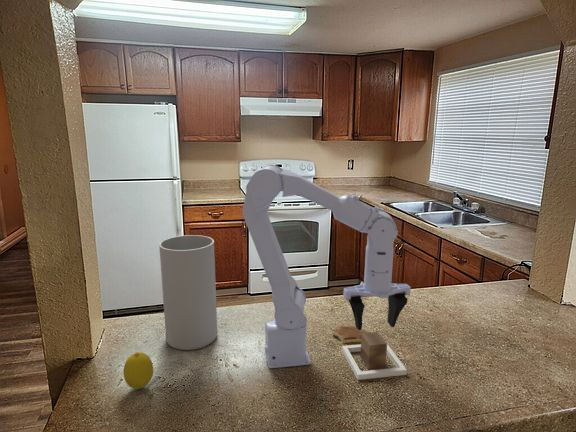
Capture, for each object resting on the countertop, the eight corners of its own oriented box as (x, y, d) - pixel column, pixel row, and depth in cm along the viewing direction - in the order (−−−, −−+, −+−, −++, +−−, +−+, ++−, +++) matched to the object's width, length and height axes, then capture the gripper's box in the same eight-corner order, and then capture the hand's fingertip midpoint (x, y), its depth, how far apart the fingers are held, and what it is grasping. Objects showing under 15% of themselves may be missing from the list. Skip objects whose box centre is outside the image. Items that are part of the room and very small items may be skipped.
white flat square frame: (357, 379, 80) (357, 374, 80) (341, 350, 91) (342, 346, 91) (406, 374, 82) (406, 369, 82) (385, 346, 93) (385, 342, 92)
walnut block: (368, 369, 84) (369, 345, 82) (360, 356, 89) (361, 333, 87) (385, 368, 84) (387, 343, 83) (376, 355, 89) (378, 331, 88)
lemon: (145, 376, 81) (142, 342, 79) (159, 387, 78) (157, 351, 76) (120, 389, 77) (116, 353, 75) (134, 401, 74) (130, 364, 72)
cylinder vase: (227, 331, 99) (224, 238, 94) (196, 356, 88) (191, 253, 82) (188, 321, 104) (183, 232, 99) (155, 344, 93) (147, 246, 88)
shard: (382, 343, 95) (382, 336, 95) (365, 355, 90) (366, 349, 89) (346, 328, 102) (346, 321, 102) (328, 338, 97) (329, 332, 97)
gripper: (351, 277, 76) (349, 338, 80) (419, 273, 79) (414, 332, 82) (341, 265, 83) (339, 322, 86) (403, 261, 86) (399, 317, 89)
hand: (374, 326), depth 85 cm, fingers open, 7 cm apart
